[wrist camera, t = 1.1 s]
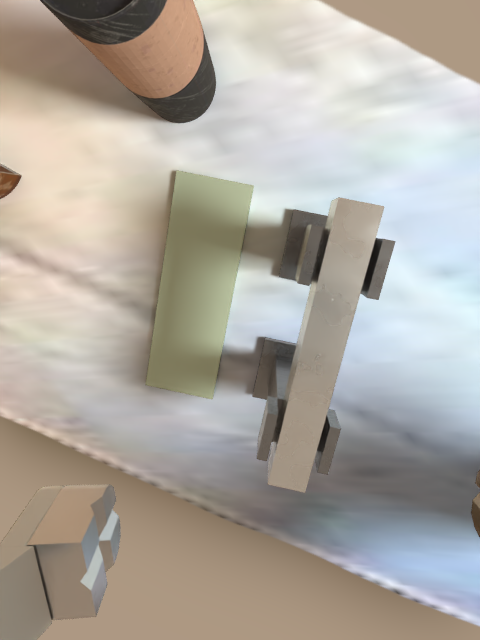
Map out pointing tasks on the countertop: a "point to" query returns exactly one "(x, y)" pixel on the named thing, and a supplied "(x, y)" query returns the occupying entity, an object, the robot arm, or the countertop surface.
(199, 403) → the countertop surface
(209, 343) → the mat
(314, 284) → the rail
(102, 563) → the robot arm
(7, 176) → the food container
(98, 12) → the travel mug
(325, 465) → the posts
